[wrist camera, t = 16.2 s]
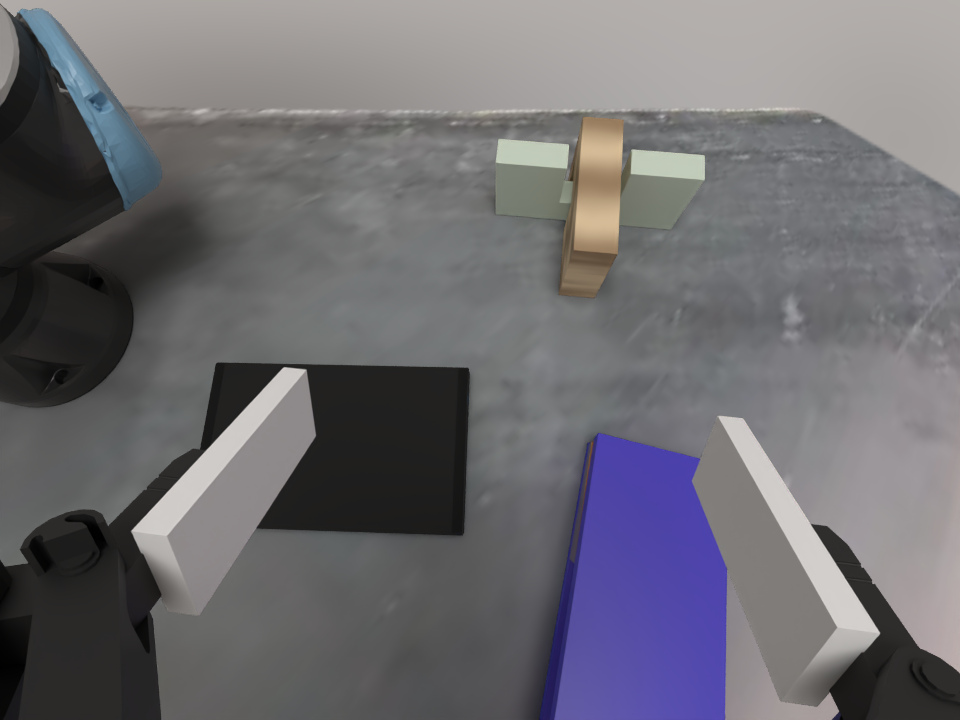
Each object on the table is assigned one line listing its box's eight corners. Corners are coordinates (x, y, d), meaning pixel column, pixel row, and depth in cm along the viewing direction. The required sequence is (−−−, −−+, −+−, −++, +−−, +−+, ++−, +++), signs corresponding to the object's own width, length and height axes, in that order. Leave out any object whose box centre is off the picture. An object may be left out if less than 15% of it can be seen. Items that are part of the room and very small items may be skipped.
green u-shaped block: (495, 214, 49) (495, 162, 41) (498, 193, 49) (498, 139, 42) (670, 229, 48) (704, 180, 40) (670, 208, 48) (704, 155, 40)
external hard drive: (234, 369, 45) (216, 361, 43) (470, 374, 45) (468, 367, 42) (207, 523, 42) (185, 526, 39) (464, 532, 41) (462, 535, 38)
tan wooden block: (594, 298, 46) (617, 253, 37) (558, 294, 46) (573, 250, 37) (600, 184, 49) (623, 119, 41) (567, 181, 49) (583, 116, 41)
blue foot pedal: (517, 793, 36) (525, 903, 26) (581, 435, 43) (606, 420, 33) (667, 838, 35) (733, 970, 25) (708, 464, 42) (771, 458, 32)
